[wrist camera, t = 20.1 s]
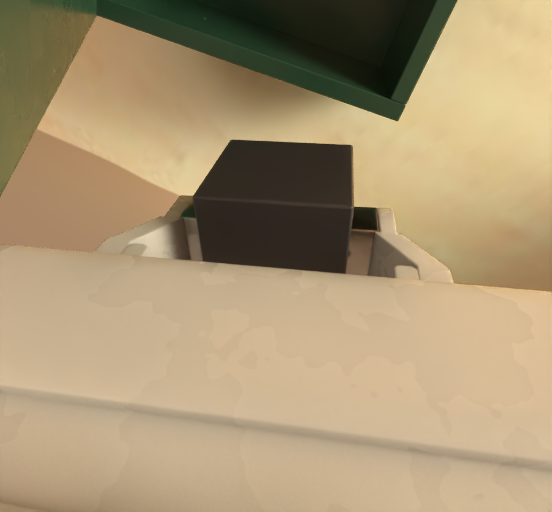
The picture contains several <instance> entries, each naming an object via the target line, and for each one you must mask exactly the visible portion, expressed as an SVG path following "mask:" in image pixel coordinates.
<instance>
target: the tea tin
mask: <svg viewBox="0 0 552 512" xmlns="http://www.w3.org/2000/svg"><path fill="white" fill-rule="evenodd" d="M96 1H97V15H98V16H100V17H103V18H106V19H109V20H112V21H115V22H117V23H120V24H123V25H126V26H129V27H132V28H134V29H137V30H140V31H143V32H146V33H149V34H151V35H154V36H157V37H160V38H163V39H166V40H168V41H171V42H174V43H177V44H180V45H183V46H186V47H188V48H191V49H194V50H197V51H200V52H203V53H205V54H208V55H211V56H214V57H217V58H220V59H222V60H225V61H228V62H231V63H234V64H237V65H239V66H242V67H245V68H248V69H251V70H254V71H256V72H259V73H262V74H265V75H268V76H271V77H273V78H276V79H279V80H282V81H285V82H288V83H290V84H293V85H296V86H299V87H302V88H305V89H307V90H310V91H313V92H316V93H319V94H322V95H324V96H327V97H330V98H333V99H336V100H339V101H341V102H344V103H347V104H350V105H353V106H356V107H358V108H361V109H364V110H367V111H370V112H373V113H375V114H378V115H381V116H384V117H387V118H390V119H392V120H395V121H398V120H399V118H400V116H401V114H402V112H403V110H404V108H405V104H407V102H408V100H409V98H410V96H411V94H412V92H413V90H414V87H415V85H416V83H417V81H418V79H419V77H420V75H421V73H422V71H423V69H424V67H425V65H426V63H427V61H428V59H429V57H430V55H431V53H432V51H433V49H434V47H435V45H436V43H437V41H438V39H439V37H440V35H441V33H442V31H443V29H444V27H445V25H446V23H447V21H448V19H449V17H450V15H451V12H452V10H453V8H454V6H455V4H456V2H457V0H96Z"/></svg>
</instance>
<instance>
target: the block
mask: <svg viewBox="0 0 552 512" xmlns="http://www.w3.org/2000/svg"><path fill="white" fill-rule="evenodd" d="M193 203H194V210H195V216H196V222H197V229H198V235H199V241H200V247H201V254H202V260H203V262H214V263H225V264H237V265H248V266H260V267H271V268H283V269H294V270H306V271H318V272H329V273H341V274H346V267H347V259H348V251H349V243H350V235H351V227H352V220H353V212H354V185H353V147H352V146H351V145H337V144H315V143H293V142H271V141H248V140H230V142H229V143H228V145H227V146H226V148H225V149H224V151H223V152H222V154H221V155H220V157H219V158H218V160H217V161H216V163H215V164H214V166H213V167H212V169H211V170H210V172H209V173H208V175H207V176H206V177H205V179H204V180H203V182H202V183H201V185H200V186H199V188H198V189H197V191H196V192H195V194H194V195H193Z"/></svg>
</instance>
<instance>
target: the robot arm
mask: <svg viewBox="0 0 552 512" xmlns="http://www.w3.org/2000/svg"><path fill="white" fill-rule="evenodd" d="M0 512H552V292H550V291H538V290H527V289H515V288H504V287H492V286H480V285H469V284H457V283H454V282H453V279H452V276H451V273H450V270H449V268H447V267H446V266H445V265H443V264H442V263H441V262H439V261H438V260H436V259H435V258H434V257H432V256H431V255H430V254H428V253H427V252H425V251H424V250H423V249H421V248H420V247H419V246H417V245H416V244H415V243H413V242H412V241H410V240H409V239H408V238H406V237H405V236H404V235H402V234H397V230H396V224H395V219H394V213H393V209H391V208H370V207H354V212H353V220H352V227H351V235H350V243H349V251H348V259H347V267H346V274H341V273H329V272H318V271H306V270H294V269H283V268H271V267H260V266H248V265H237V264H225V263H214V262H203V260H202V254H201V247H200V241H199V235H198V229H197V222H196V216H195V210H194V203H193V196H186V195H181V196H179V197H178V199H177V200H176V202H175V203H174V204H173V206H172V207H171V208H170V210H169V211H168V212H167V214H166V215H165V216H164V217H158V218H156V219H153V220H151V221H148V222H146V223H144V224H141V225H139V226H137V227H134V228H132V229H130V230H127V231H125V232H122V233H120V234H118V235H115V236H113V237H111V238H108V239H106V240H104V241H103V242H102V243H101V244H100V245H99V247H98V248H97V249H96V250H95V251H94V252H87V251H74V250H63V249H52V248H40V247H29V246H17V245H6V244H0Z"/></svg>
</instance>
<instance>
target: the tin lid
mask: <svg viewBox="0 0 552 512" xmlns="http://www.w3.org/2000/svg"><path fill="white" fill-rule="evenodd" d="M96 16H97V1H96V0H0V196H1V194H2V192H3V190H4V189H5V187H6V185H7V183H8V181H9V179H10V177H11V175H12V174H13V172H14V170H15V168H16V166H17V164H18V162H19V160H20V159H21V157H22V155H23V153H24V151H25V149H26V147H27V145H28V143H29V142H30V140H31V138H32V136H33V134H34V132H35V130H36V129H37V127H38V125H39V123H40V121H41V119H42V117H43V115H44V114H45V112H46V110H47V108H48V106H49V104H50V102H51V100H52V99H53V97H54V95H55V93H56V91H57V89H58V87H59V85H60V84H61V82H62V80H63V78H64V76H65V74H66V72H67V70H68V69H69V67H70V65H71V63H72V61H73V59H74V57H75V55H76V54H77V52H78V50H79V48H80V46H81V44H82V42H83V40H84V39H85V37H86V35H87V33H88V31H89V29H90V27H91V25H92V24H93V22H94V20H95V18H96Z"/></svg>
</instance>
